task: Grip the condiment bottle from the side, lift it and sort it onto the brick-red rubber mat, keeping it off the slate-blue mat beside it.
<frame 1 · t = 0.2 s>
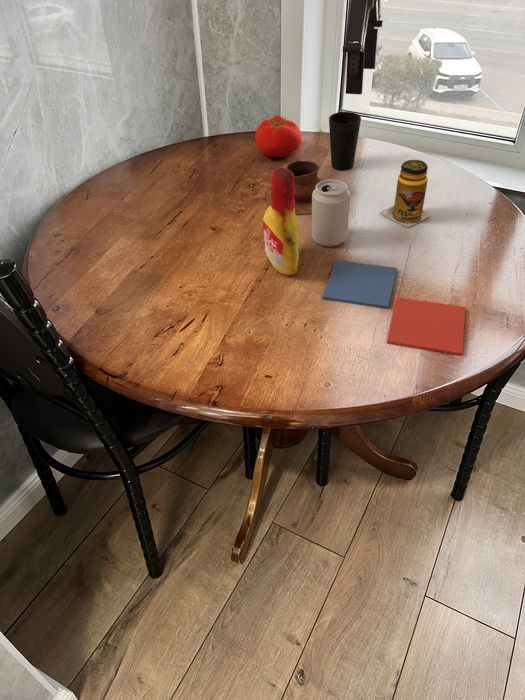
hand: (360, 80, 97), 29 cm above the table, tool pointing down, fingers open, 13 cm apart
ceramic pot: (303, 196, 128), on the table
mat red: (426, 326, 93), on the table
tomato: (278, 153, 145), on the table
bottle: (283, 264, 108), on the table
cup: (342, 166, 138), on the table
can: (329, 239, 114), on the table
condiment: (404, 215, 119), on the table
mat blue: (360, 284, 102), on the table
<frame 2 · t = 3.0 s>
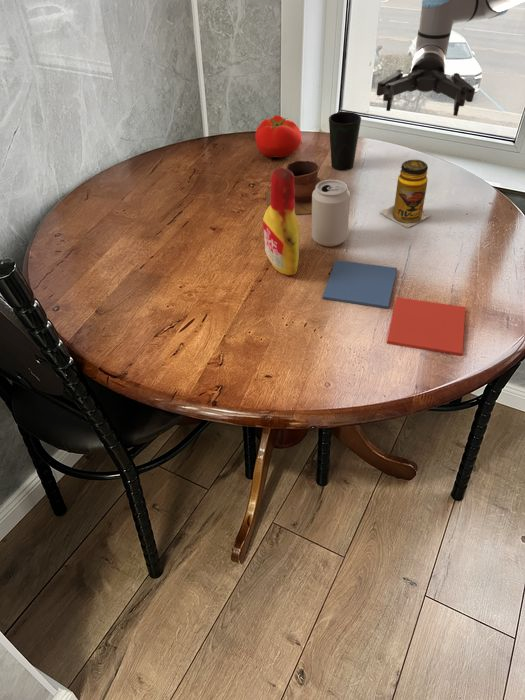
hand: (422, 106, 111), 20 cm above the table, tool horizontal, fingers open, 13 cm apart
nothing on the table moved.
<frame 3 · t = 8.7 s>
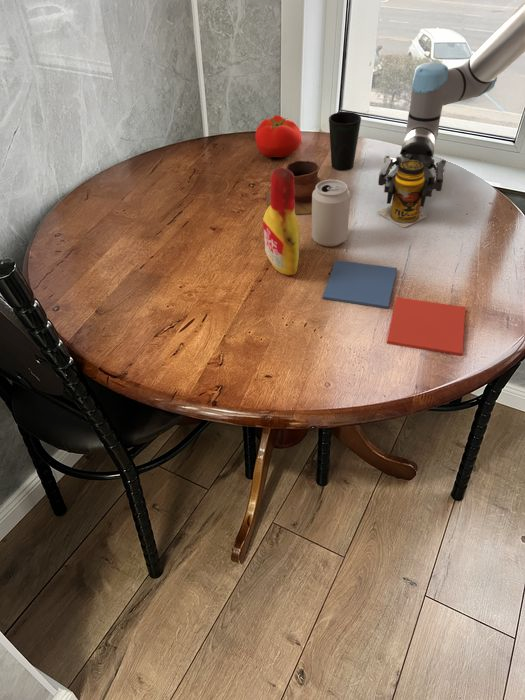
hand: (405, 199, 111), 7 cm above the table, tool horizontal, fingers closed on condiment, 6 cm apart
condiment: (401, 215, 119), on the table, touching gripper
everything else where it was.
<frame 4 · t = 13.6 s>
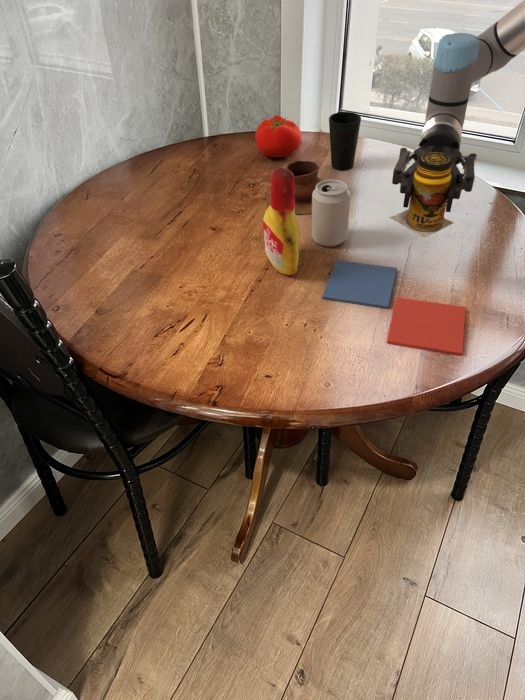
hand: (427, 202, 88), 18 cm above the table, tool horizontal, fingers closed on condiment, 6 cm apart
condiment: (420, 222, 96), point 11 cm above the table, touching gripper
everything else where it was.
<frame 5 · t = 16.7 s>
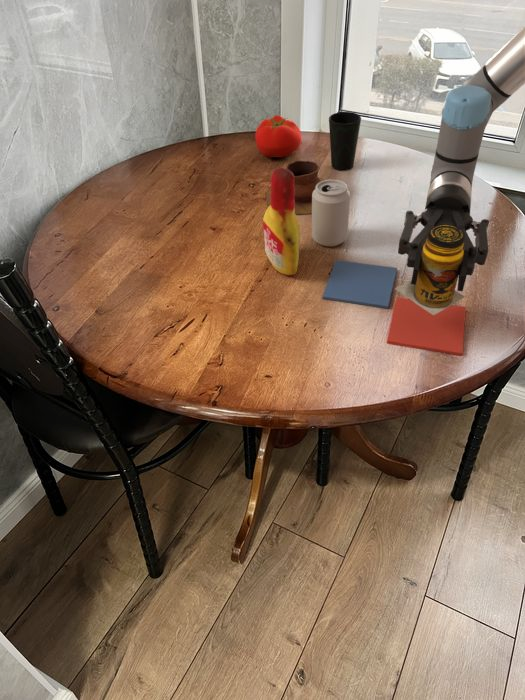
hand: (438, 280, 80), 13 cm above the table, tool horizontal, fingers closed on condiment, 6 cm apart
condiment: (429, 294, 88), point 7 cm above the table, touching gripper
everything else where it was.
when the fingers open (7 cm above the table, at t = 18.8 s): condiment stays where it is, resting on mat red.
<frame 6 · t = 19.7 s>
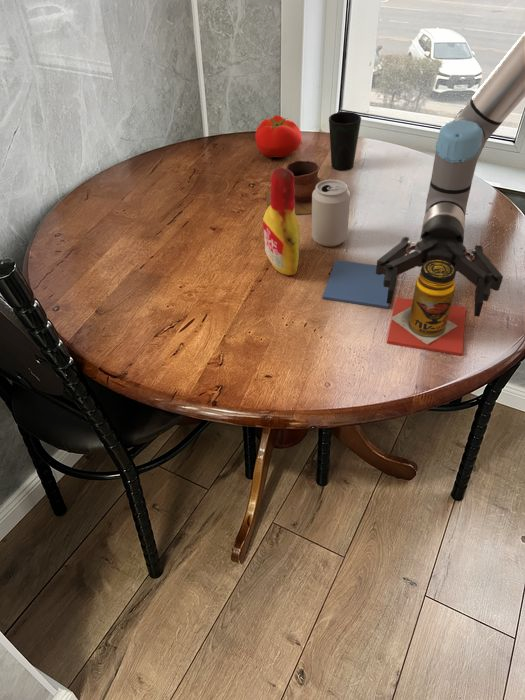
hand: (433, 303, 85), 7 cm above the table, tool horizontal, fingers open, 13 cm apart
condiment: (423, 323, 92), resting on mat red
everything else where it was.
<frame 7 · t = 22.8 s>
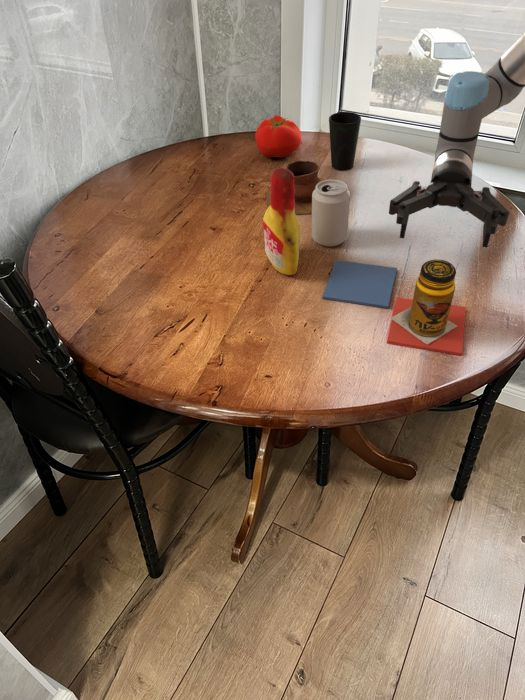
hand: (443, 235, 91), 12 cm above the table, tool horizontal, fingers open, 13 cm apart
nothing on the table moved.
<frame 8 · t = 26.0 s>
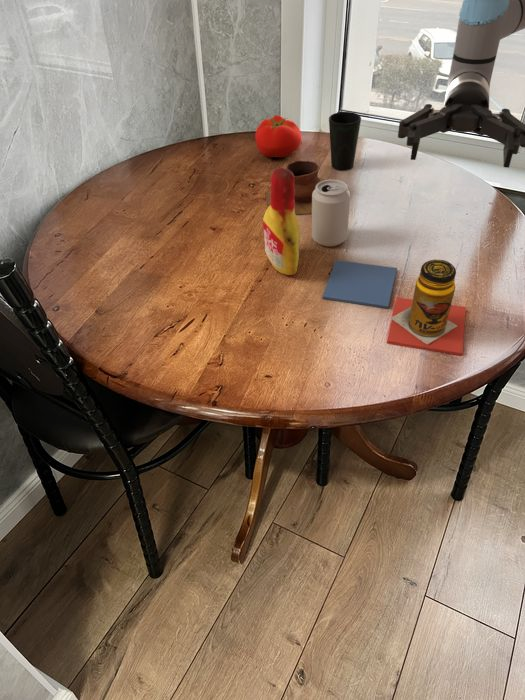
hand: (460, 155, 81), 26 cm above the table, tool horizontal, fingers open, 13 cm apart
nothing on the table moved.
at the end: condiment inside the target area on the mat red (0.7 cm from its centre), point 0.4 cm above the mat red's base; condiment tilted 0°; condiment touching mat red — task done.
